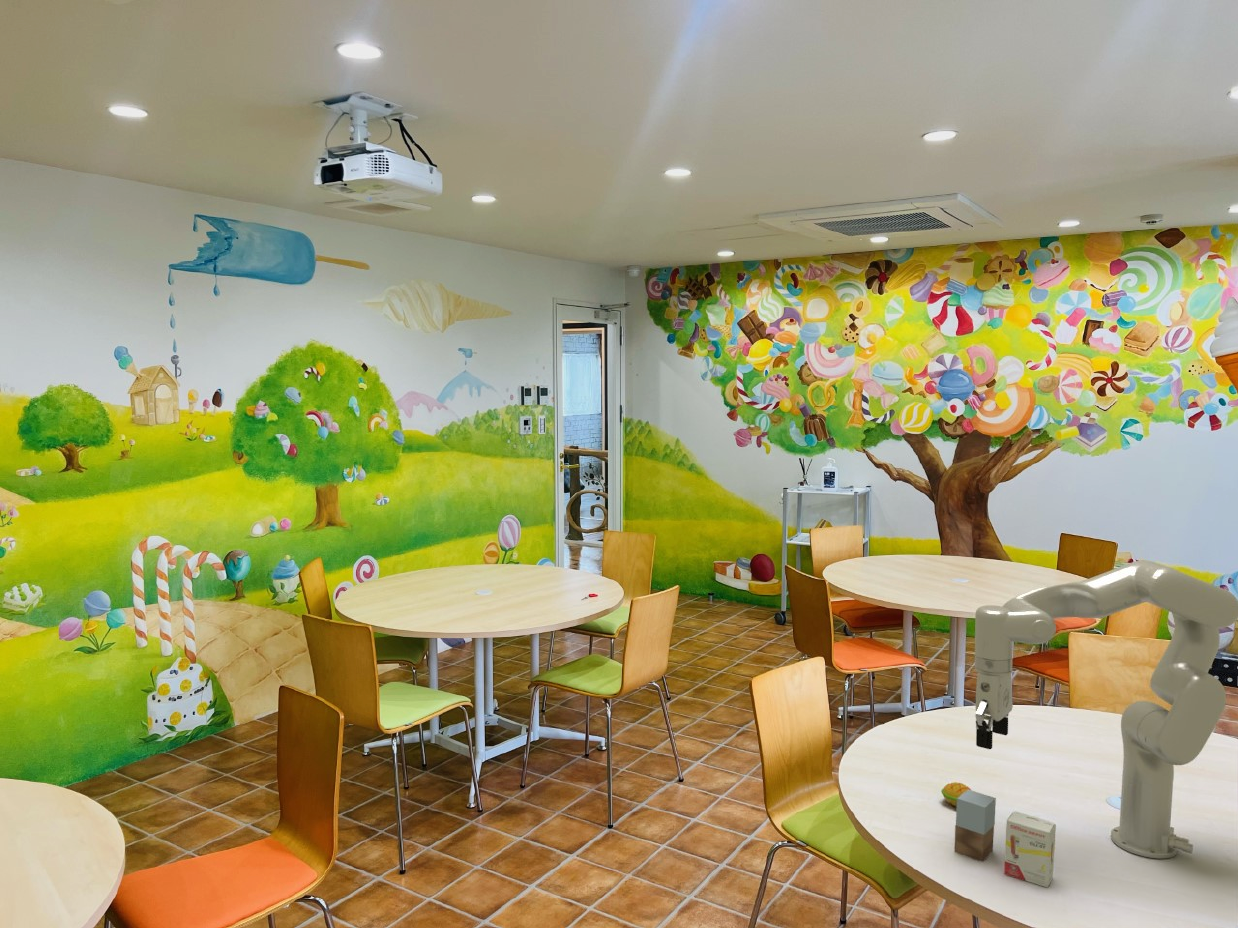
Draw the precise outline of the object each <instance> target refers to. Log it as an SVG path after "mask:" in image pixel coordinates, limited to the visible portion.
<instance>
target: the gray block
mask: <svg viewBox="0 0 1238 928" xmlns="http://www.w3.org/2000/svg"><path fill="white" fill-rule="evenodd" d="M996 801H997V798H996V797H993V796H991V795H987V794H984V793H982V792H977V791H975V790H972V789H971V790H967V791H965V792H964V793H963V794H962V795H961V796H959V797H958V798H957V806H956V817H955V825H956V826H959V827H962V828H965V829H968V830H971V831H974V832H977V833H980V834H983V835H985V834H986V833H987V832H988V831H989V830H990V829H991V828H992V827H993V826H994V827H995V824H996V804H997V803H996Z"/></svg>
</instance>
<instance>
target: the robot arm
mask: <svg viewBox="0 0 1238 928" xmlns="http://www.w3.org/2000/svg"><path fill="white" fill-rule="evenodd" d="M1143 603H1148V604H1151V605H1153V606H1156V607H1158V608H1161V609H1164V610H1165V611H1167V612H1170V613H1171V615H1172V618H1173V622H1174V629H1173V635H1172V637H1171V640H1170V642H1169V644H1168V646H1167V647H1166V649H1165V650H1164V653H1163V655H1162V656H1161V657H1160V660H1159V661H1158V663H1157V666H1156V667H1155V669H1154V670H1153V672H1152V674H1151V677H1150V680H1149V683H1150V684H1149V685H1150V688H1151V691H1152V692H1153V693H1154V695H1156V696H1157V697H1158V698H1159V699H1161V700H1162V701H1164V702H1166V703H1167V704H1169V706H1170V705H1171V707H1170V709H1169V710H1168V709H1167V708H1165V707H1163V706H1162V705H1159V704H1157V703H1155V702H1153V701H1148V700H1139V701H1133V702H1132V703H1131V704H1129V705H1127V707H1126V708H1125V709H1124V710H1123V712H1122V715H1121V719H1120V730H1121V739H1122V746H1123V747H1122V748H1123V749H1122V750H1123V761H1122V763H1123V764H1122V775H1121V776H1122V778H1121V792H1120V793H1121V794H1120V812H1119V825H1118V826H1116V827H1114V828H1112V830H1111V833H1110V837H1111V840H1112V842H1113V843H1114V844H1115V845H1116V846H1118V848H1121V849H1123V850H1125V851H1126V852H1128V853H1132V854H1134V855H1137V856H1140V857H1144V858H1150V859H1159V860H1160V859H1161V860H1162V859H1170V858H1173V857H1175V856H1176V855H1177V854H1178V850H1180V851H1182V852H1185V853H1188V854H1193V849H1194V844H1192V843H1190V840H1189V838H1184V837H1180V836H1177V834H1175V827H1172V826H1171V821H1172V808H1173V807H1172V804H1173V791H1174V790H1173V789H1174V788H1173V787H1174V776H1175V771H1174V770H1175V768H1174V766H1183V765H1187V764H1189V763H1191V762H1193V761H1194V760H1195V759H1196V758H1197V757H1198V756H1199V755H1200V754H1201V752H1202V750H1203V749H1204V747H1205V745H1206V744H1207V742H1208V740H1209V739H1210V737H1211V735H1212V733H1213V731H1214V730H1215V728H1216V726H1217V724H1218V723H1219V721H1220V718H1221V717H1222V715H1223V713H1224V710H1225V708H1226V705H1227V704H1226V703H1227V694H1226V690H1225V688H1224V686H1223V684H1222V683H1221V681H1220V680H1219V679H1218V678H1216V677H1215V676H1214V675H1212V674H1210V673H1209V670H1210V669H1211V666H1212V665H1213V662H1214V660H1215V657H1216V656H1217V654H1218V652H1219V651H1218V650H1219V647H1220V641H1221V640H1220V637H1221V636H1220V630H1219V629H1224V628H1228V627H1229V626H1232V625H1233V624H1234V623H1235V622H1236V621H1237V620H1238V598H1237V597H1236V596H1235V595H1234V594H1233V593H1232V592H1231V591H1229V590H1228V589H1225V588H1223V587H1220V586H1217V585H1214V584H1211V583H1209V582H1206V581H1204V580H1202V579H1198V578H1197V577H1193V576H1192V575H1189V574H1187V573H1184V572H1182V571H1179V570H1177V569H1175V568H1172V567H1169V566H1167V565H1163V564H1160V563H1157V562H1155V561H1151V560H1144V559H1143V560H1141V559H1140V560H1136V561H1133V562H1130V563H1127V564H1124V565H1121V566H1119V567H1117V568H1114V569H1111V570H1109V571H1105V572H1104V573H1100V574H1098V575H1095V576H1092V577H1090V578H1086V579H1084V580H1081V581H1074V582H1067V583H1062V584H1055V585H1050V586H1045V587H1040V588H1037V589H1033V590H1031V591H1028V592H1026V593H1023V594H1020V595H1017V596H1015V597H1013V598H1011V599H1009V600H1008V601H1006V602H1005V603H1003V606H1000V605H994V604H993V605H992V604H991V605H990V604H989V605H983V606H982V605H981V606H979V607H977V609H976V610H975V615H974V617H975V619H974V620H975V621H974V622H975V623H974V625H975V626H974V627H975V628H974V630H975V631H974V670H975V671H977V676H976V687H975V689H976V690H975V691H976V692H975V715H974V716H975V731H976V732H975V734H976V740H975V741H976V742H975V745H976V747H979V748H983V749H986V750H992V749H993V734H999V735H1003V736H1007V735H1008V734H1009V714H1010V713H1011V712H1012V710H1013V708H1014V705H1013V681H1012V680H1013V679H1012V673H1013V655H1014V654H1013V651H1014V650H1013V648H1014V642H1015V643H1022V644H1029V645H1043V644H1046V643H1047V642H1049V641H1051V640H1052V639H1053V638H1054V636H1055V634H1056V632H1057V625H1056V622H1055V619H1058V618H1059V619H1061V618H1080V619H1103V618H1106V617H1108V616H1112V615H1114V614H1117V613H1119V612H1121V611H1124V610H1127V609H1130V608H1132V607H1135V606H1139V605H1141V604H1143ZM986 721H987V722H986Z"/></svg>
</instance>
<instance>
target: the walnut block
mask: <svg viewBox="0 0 1238 928" xmlns="http://www.w3.org/2000/svg"><path fill="white" fill-rule="evenodd" d="M954 827H955V828H954V829H955V830H954V848H953V849H954V850H953V851H954V853H957V854H960V855H962V856H964V855H965V856H964V857H968V858H970V859H973V860H975V861H976V860H977V861H979V862H982V863H983V862H984V861H985V860H986V859H987V858H988V857H989V856H990V855H991V854H992V853H993V852H994V837H995V825H994V826H993V827H992V828H991V829H990V830H989V831H988V832H987V833H986V834H985V835H983V834H980V833H977V832H974V831H971V830H968V829H965V828H962V827H959V826H956V824H955V826H954Z"/></svg>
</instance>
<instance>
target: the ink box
mask: <svg viewBox="0 0 1238 928" xmlns="http://www.w3.org/2000/svg"><path fill="white" fill-rule="evenodd" d="M1005 825H1006V828H1005V844H1004V845H1005V848H1004V870H1003V874H1004V875H1006V876H1009V877H1013V878H1016V879H1018V880H1022V881H1024V882H1029V883H1031V884H1034V885H1037V886H1041V887H1044V888H1048V887H1049V886H1050V884H1051V882H1052V880H1053V878H1054V877H1053V876H1054V875H1053V874H1054V863H1055V861H1054V860H1055V848H1056V847H1055V846H1056V833H1057V832H1056V830H1057V825H1056V824H1055V822H1053V821H1050V820H1046V819H1042V818H1039V817H1036V816H1034V815H1033V816H1032V815H1029V814H1027V813H1022V812H1019V811H1012V813H1010V815H1009V816H1008V818H1007V819H1006V824H1005Z"/></svg>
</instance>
